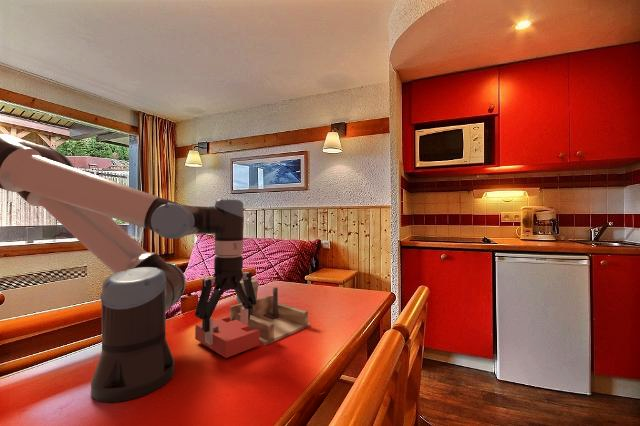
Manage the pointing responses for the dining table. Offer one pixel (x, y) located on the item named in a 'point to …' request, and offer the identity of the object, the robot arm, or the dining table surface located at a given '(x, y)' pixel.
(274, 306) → the carcass
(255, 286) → the coffee cup
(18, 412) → the dining table surface
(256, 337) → the red rectangular block
